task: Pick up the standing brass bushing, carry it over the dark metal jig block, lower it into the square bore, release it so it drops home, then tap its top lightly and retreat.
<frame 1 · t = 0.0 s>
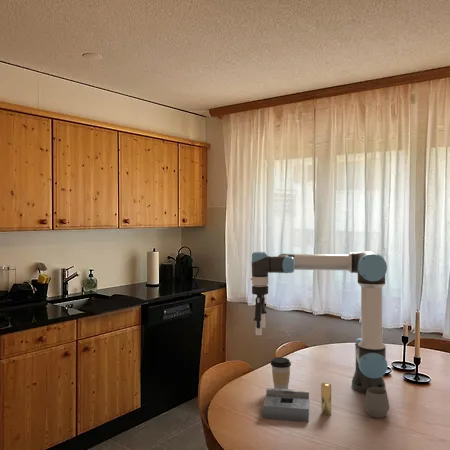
hand: (260, 331, 207), 28 cm above the table, fingers open, 13 cm apart
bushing: (326, 413, 183), on the table
jig: (286, 412, 184), on the table
coffee cup: (281, 392, 206), on the table
cup: (376, 415, 181), on the table
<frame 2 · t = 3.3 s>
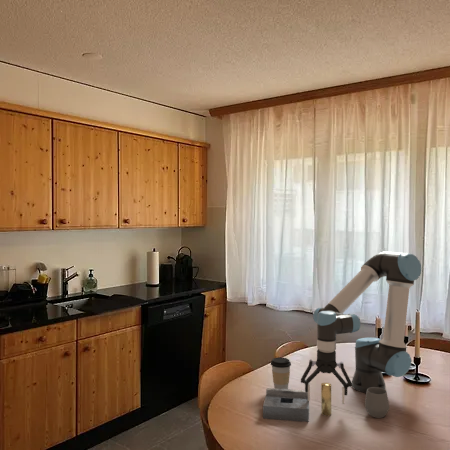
hand: (325, 401, 183), 5 cm above the table, fingers open, 13 cm apart
nothing on the table moved.
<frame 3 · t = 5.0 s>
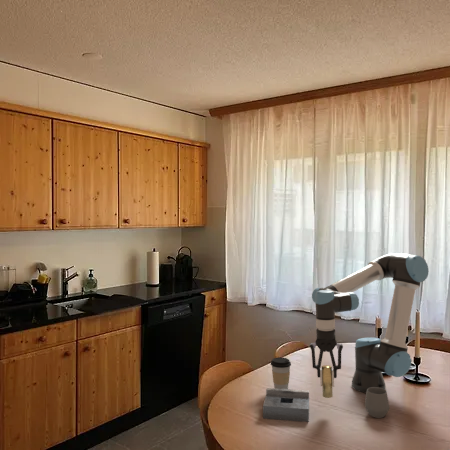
hand: (327, 385, 183), 12 cm above the table, fingers closed on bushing, 4 cm apart
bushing: (327, 395, 183), point 7 cm above the table, touching gripper
everything else where it was.
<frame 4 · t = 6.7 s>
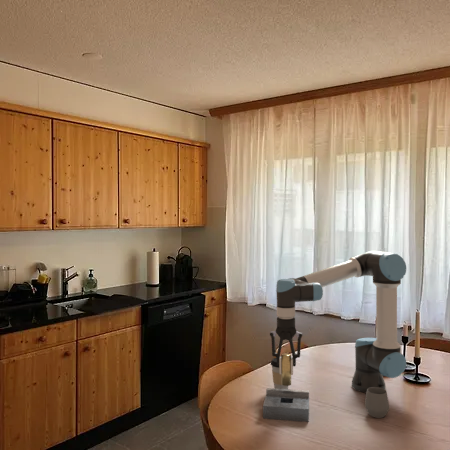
hand: (286, 373, 184), 16 cm above the table, fingers closed on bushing, 4 cm apart
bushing: (286, 384, 184), point 12 cm above the table, touching gripper
everything else where it was.
when the fingers open (6 cm above the table, at t = 8.7 s): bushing drops 1 cm, resting in jig.
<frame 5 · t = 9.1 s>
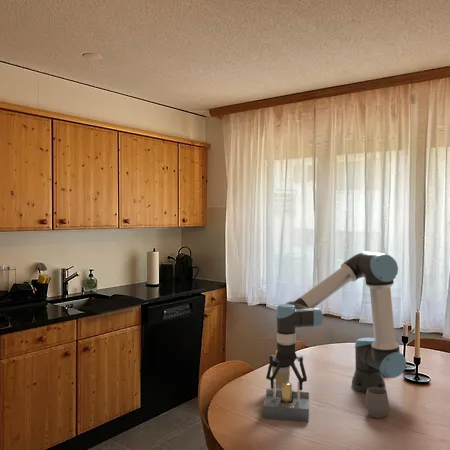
hand: (286, 396, 184), 7 cm above the table, fingers open, 9 cm apart
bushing: (286, 412, 184), resting in jig
everything else where it was.
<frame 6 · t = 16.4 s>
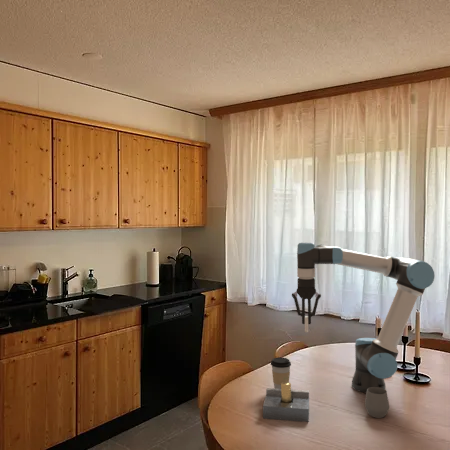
hand: (306, 331, 196), 30 cm above the table, fingers closed
nothing on the table moved.
at the end: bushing 0.2 cm off-centre on the jig, point 0.0 cm above the jig's base; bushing tilted 1°; the gripper is holding nothing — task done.
